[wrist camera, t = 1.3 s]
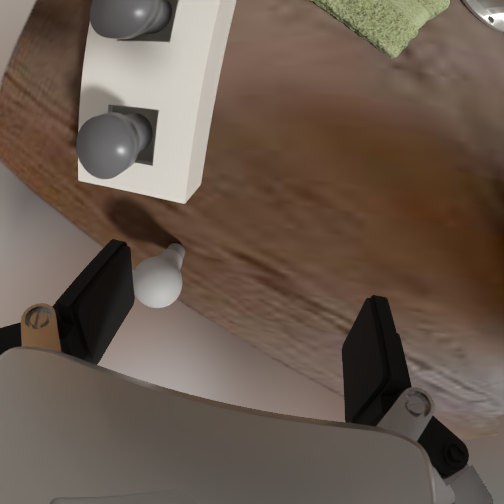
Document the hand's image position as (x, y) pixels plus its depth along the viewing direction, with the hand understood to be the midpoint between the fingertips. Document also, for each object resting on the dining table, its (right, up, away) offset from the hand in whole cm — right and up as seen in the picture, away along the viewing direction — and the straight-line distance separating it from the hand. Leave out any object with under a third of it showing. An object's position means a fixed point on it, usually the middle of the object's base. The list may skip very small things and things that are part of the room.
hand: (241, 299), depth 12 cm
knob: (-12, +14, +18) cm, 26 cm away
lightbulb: (-10, +2, +31) cm, 33 cm away
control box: (-10, +22, +19) cm, 31 cm away
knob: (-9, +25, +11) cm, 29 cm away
